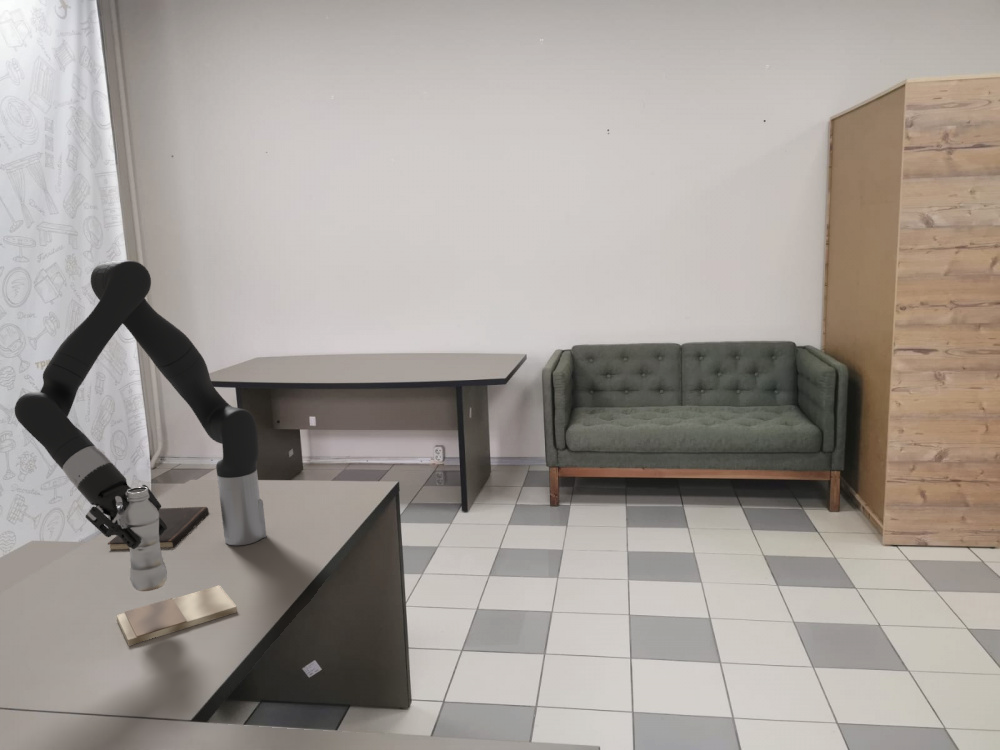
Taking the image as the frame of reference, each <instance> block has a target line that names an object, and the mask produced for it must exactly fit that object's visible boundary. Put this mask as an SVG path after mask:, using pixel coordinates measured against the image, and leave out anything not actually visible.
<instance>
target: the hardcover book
mask: <svg viewBox="0 0 1000 750" xmlns="http://www.w3.org/2000/svg"><path fill="white" fill-rule="evenodd" d="M158 512H159V517H160V518H161V519H162V521H163V522H164V523H165V524H166V527H167V530H166V531H165V532H164V534H162V535H159V541H160V548H175V547H176V546H177V545H178V544H179V543H180V542H181V541H182V540H183V539H184V538H185V537H186V536H188V534H189V533H190V532H191V531H192V530H193V529H194V528H195V527H196V526H197V525H198V524H199V523H200V522H201V521H202V520H203V519H204V518H205V517H206V516H207V515H208V514H209V512H210V511H209V508H208V507H207V506H193V507H191V506H190V507H167V508H166V507H161V508H160V509H159V510H158ZM108 545H109V549H110V550H130V549H129V546H127V545H126V543H125V542H124V541H123V540H122V539H121V538H120V537H119V536H116V535H115V537H114V538H112V539H111V540H110V541H109V542H107V546H108Z"/></svg>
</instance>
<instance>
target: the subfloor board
mask: <svg viewBox="0 0 1000 750" xmlns="http://www.w3.org/2000/svg"><path fill="white" fill-rule="evenodd" d="M235 613H238V608H237V605H236V604H235V602H234V601H233V599H232V598H231V597H230V596H229V595H228V594H227V592H226V591H225V590H224V589H223V587H222V586H221V585H216V586H212V587H209V588H206V589H201V590H199V591H195V592H191V593H188V594H185V595H182V596H177V597H175V598H173V597H171V598H168V599H167V598H166V599H165V600H161V601H157V602H153V603H151V604H147V605H144V606H140V607H137V608H133V609H130V610H126V611H124V612H123V613H120V614H117V615H116V621H117V624H118V625H119V627H120V630H121V632H122V634H123V637H124V638H125V641H126V643H127V644H128V646H129V647H130V646H133V645H136V643H137V644H139V642H140V643H142V641H143V642H146V641H150V640H152V638H153V639H155V637H156V638H159V637H162V636H165V635H169V634H172V633H174V632H178V631H181V630H185V629H187V628H190V627H194V626H196V625H197V626H198V625H200V624H201V625H202V624H203V623H207V622H209V621H213V620H217V619H220V618H222V617H225V616H228V615H232V614H235ZM149 639H150V640H149ZM145 640H146V641H145Z"/></svg>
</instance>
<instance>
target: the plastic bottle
mask: <svg viewBox="0 0 1000 750" xmlns="http://www.w3.org/2000/svg"><path fill="white" fill-rule="evenodd" d="M147 487H148V486H147ZM147 487H142V486H137V487H130V488H131V489H129V490H127V501H128V502H129V504H128V506H127V507H126V509H125V511H124V522H125V523H126V525H127V527H126V528H128V527H129V528H130V529H131V530H132V531H133V532H134V533H135V535H136V536H137V537H138V538H139V539H140V540H141V543H140V545H139V546H138V547H137V548H135V549H132V548H130V547H129V549H128V550H129V557H130V561H129V562H130V568H129V569H130V570H129V581H130V583H131V585H132V587H133V588H134V589H135V590H136V591H138V592H149V591H154V590H158V589H159V588H162V587H163V586H165V584H166V582H167V581H168V569H167V565H166V563H165V561H164V556H163V554H162V550H161V548H160V541H159V512H158V510H157V508H156V507H155V506H154V505H153V504H152V503H151V502H150V501H149V500H148V499H149V493H148V488H149V487H148V488H147Z"/></svg>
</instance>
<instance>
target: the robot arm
mask: <svg viewBox="0 0 1000 750" xmlns="http://www.w3.org/2000/svg"><path fill="white" fill-rule="evenodd" d="M90 285H91V289H92V291H93V293H94V295H95V296H96V298H97V299H98V300H99V301H98V303H97V305H95V307H94V309H93V310H92V311H91V312H90V314H89V315H88V316H87V317H86V318H85V319H84V320H83V321H82V322H81V323H80V324H79V325H78V326H77V327H76V328H75V329H74V330H73V331H71V333H70V334H69V335H68V336H67V337H66V338H65V339H64V340H63V341H62V342H61V344H60V346H59V347H58V348H57V350H56V351H55V353H54V355H53V356H52V357H51V359H50V361H49V362H48V364H47V365H46V367H45V369H44V371H43V374H42V379H43V380H42V381H43V384H42V387H41V389H40V391H32V392H27V393H25V394H23V395H22V396H20V397H19V398H18V399H17V401H16V403H15V405H14V414H15V415H14V416H15V418H16V420H17V421H18V423H19V424H20V425H21V426H22V427H23V428H24V429H25V430H26V431H27V432H28V433H29V434H30V435H31V436H32V437H33V438H34V439H35V440H37V442H38V443H40V444H41V446H42V447H43V448H44V449H45V450H46V451H47V452H48V454H49V456H50V457H51V459H52V460H53V461H54V462H55V463H56V464H57V466H59V468H60V469H61V470H62V471H63V472H64V473H65V475H66V477H67V478H68V480H69V481H70V482H71V483H72V484H73V485H74V487H76V489H77V490H78V491H79V492H80V493H81V495H82V496H83V498H85V499H86V500H87V501H88V502H89V503H90V505H92V507H90V509H89V511H88V512H87V513H86V515H85V518H86V520H88V521H89V522H90V523H91V524H92V525H93V526H94V527H95V528H96V529H97V530H98V531H99V532H101V534H102V535H104V536H105V537H107V538H111V537H112V536H115V537H116V536H119V537H120V538H121V539H122V540H123V541H124V542H125V543H126V545H127V546H129V547H130V548H132V549H135V548H137V547H138V546H139V545H140V543H141V540H140V539H139V538H138V537H137V536H136V535H135V533H134V532H133V531H132V530H131V529H130V528H129V527H128V528H126V527H127V525H126V523H125V522H124V511H125V509H126V507H127V506H128V504H129V502H128V501H127V490H129V489H131V488H132V487H131V486H129V485H128V481H127V478H126V477H125V476H124V475H123V473H122V472H121V471H120V470H119V469H118V468H117V467H116V466H115V465H114V463H113V462H112V460H110V459H109V458H108V457H107V455H106V454H104V453H103V451H101V450H100V449H99V448H97V447H96V445H95V444H94V443H93V442H92V441H91V440H90V439H89V437H88V436H87V435H86V434H85V433H84V432H83V431H82V430H80V429H79V428H78V427H76V425H74V424H73V422H72V420H70V419H69V418H68V417H69V414H70V411H71V409H72V406H73V404H74V402H75V399H76V396H77V393H78V390H79V388H80V386H82V384H83V382H84V381H85V379H86V378H87V376H88V374H89V373H90V370H91V369H92V368H93V366H94V365H95V363H96V361H97V360H98V357H99V356H100V355H101V353H102V352H103V350H104V349H105V347H106V346H107V345H108V343H109V342H110V340H111V339H112V338H113V336H114V335H115V334H116V332H117V331H118V330H119V329H120V328H121V326H122V325H123V326H125V328H126V329H127V331H129V333H130V334H131V335H132V337H133V338H134V339H135V341H136V342H137V343H138V345H139V346H140V347H141V348H142V349H143V351H144V352H145V353H146V354H147V356H148V357H149V359H150V360H151V361H152V363H153V364H154V366H155V367H156V368H157V369H158V371H160V373H161V374H162V375H163V377H164V378H165V379H166V380H167V382H168V383H169V384H170V385H171V386H172V387H173V388H174V390H175V391H176V392H177V393H178V394H179V396H181V398H182V399H183V401H185V402H186V404H187V405H188V406H189V407H190V409H191V410H192V411H193V413H194V415H195V416H196V418H197V421H199V423H200V424H201V426H202V428H203V430H204V431H205V432H206V434H207V435H208V436H209V438H210V439H212V440H213V441H214V442H216V443H217V444H222V459H220V460H218V461H217V463H216V466H215V468H216V475H217V476H216V477H217V485H218V487H217V488H218V494H219V501H220V509H221V511H220V512H221V520H222V528H223V536H224V538H223V539H224V542H225V544H227V545H229V546H245V545H251V544H254V543H256V542H259V541H260V540H262V539H263V538H266V537H267V536H268V535H267V530H266V529H267V528H266V519H265V508H264V501H263V499H261V498H260V487H259V478H258V469H257V462H258V461H259V453H260V452H259V437H258V434H259V433H258V425H257V422H256V419H255V416H254V415H253V414H252V413H251V412H250V411H248V410H247V409H244V408H240V407H236V406H235V407H234V406H232V405H231V404H229V403H228V402H227V401H226V400H225V399H224V398H223V396H222V395H221V394H220V393H219V392H218V390H217V389H216V388H215V386H214V384H213V383H212V379H211V377H210V373H209V369H208V365H207V363H206V361H205V359H204V358H203V355H202V354H201V353H200V351H199V350H198V348H197V347H196V346H195V344H193V342H192V341H191V339H189V337H188V336H187V335H186V334H185V333H184V332H183V331H181V329H179V328H178V327H176V326H175V325H174V324H172V323H171V322H170V321H169V320H167V319H166V318H165V317H163V316H162V315H160V313H158V312H157V311H156V310H155V309H154V308H153V307H152V306H151V304H149V302H148V301H147V299H146V297H147V295H148V294H149V292H150V290H151V286H152V278H151V274H150V272H149V271H148V269H147V268H146V266H145V265H143V264H142V263H140V262H138V261H135V260H131V259H130V260H128V259H126V260H113V261H107V262H102V263H100V264H98V265H97V266H95V267H94V268H93V270H92V272H91V276H90ZM141 487H147V488H148V493H149V499H148V500H149V501H150V502H151V503H152V504H153V505H154V506H155V507H156V508H157V510H159V509H160V508H162V504H161V503H160V502H159V500H158V498H156V496H155V495H154V494H153V491H151V489H150V488H149V487H148V486H147V484H142V485H141ZM166 530H167V527H166V524H165V523H164V522H163V521H162V519H161V518H160V517H159V535H162V534H164V532H165V531H166Z"/></svg>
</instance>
